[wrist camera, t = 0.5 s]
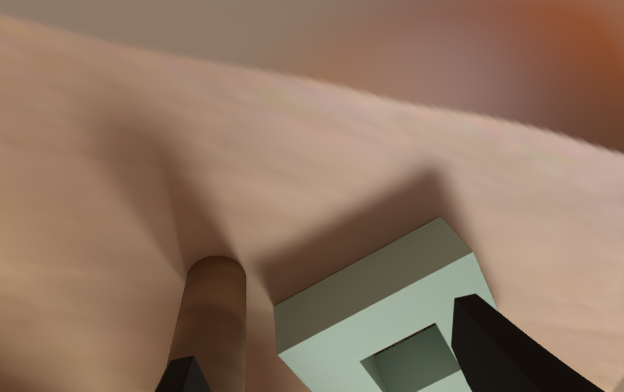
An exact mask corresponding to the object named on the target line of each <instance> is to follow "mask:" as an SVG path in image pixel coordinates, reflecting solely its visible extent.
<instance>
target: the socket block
mask: <svg viewBox="0 0 624 392" xmlns="http://www.w3.org/2000/svg"><path fill="white" fill-rule="evenodd" d="M475 293H476V294H477V295H479V296H480V297H481V298H482V299H483V300H485V301H486V302H487V303H488V304H490V305H491V306H492V307H493V308H494V309H496V310H497V307H496V305H495V303H494V300H493V298H492V295H491V293H490V291H489V288H488V286H487V283H486V281H485V279H484V276H483V274H482V271H481V269H480V267H479V264H478V262H477V259H476V257H475V255H474V252H473V251H472V250H471V249H470V248H469V247H468V245H467V244H466V243H465V242H464V241H463V240H462V239H461V238H460V237H459V236H458V235H457V234H456V232H455V231H454V230H453V229H452V228H451V227H450V226H449V225H448V224H447V223H446V222H445V221H444V219H443V218H442V217H441V216H440V217H438V218H436V219H435V220H433V221H431V222H429V223H427V224H425V225H423V226H422V227H420V228H418V229H416V230H414V231H412V232H411V233H409V234H407V235H405V236H403V237H401V238H399V239H398V240H396V241H394V242H392V243H390V244H388V245H387V246H385V247H383V248H381V249H379V250H377V251H375V252H374V253H372V254H370V255H368V256H366V257H364V258H363V259H361V260H359V261H357V262H355V263H353V264H351V265H350V266H348V267H346V268H344V269H342V270H340V271H339V272H337V273H335V274H333V275H331V276H329V277H327V278H326V279H324V280H322V281H320V282H318V283H316V284H315V285H313V286H311V287H309V288H307V289H305V290H303V291H302V292H300V293H298V294H296V295H294V296H292V297H291V298H289V299H287V300H285V301H283V302H281V303H279V304H278V305H276V306H274V307H273V308H274V320H275V331H276V343H277V355H278V356H279V357H280V358H281V359H282V360H283V361H284V362H285V363H286V365H287V366H288V367H289V368H290V369H291V370H292V371H293V372H294V373H295V374H296V375H297V376H298V377H299V379H300V380H301V381H302V382H303V383H304V384H305V385H306V386H307V387H308V388H309V389H310V390H311V391H312V392H472V391H471V389H470V387H469V385H468V383H467V381H466V379H465V377H464V375H463V373H462V371H461V368H460V366H459V364H458V362H457V359H456V357H455V355H454V352H453V350H452V348H451V337H452V323H453V309H454V298H457V297H461V296H466V295H471V294H475ZM497 311H498V310H497ZM433 323H435V325H434V326H432V327H430V328H428V329H426V330H425V331H423V332H421V333H419V334H417V335H415V336H413V337H411V338H409V339H407V340H405V341H403V342H401V343H399V344H397V345H395V346H393V347H391V348H389V349H387V350H385V351H383V352H381V353H379V354H378V355H376V356H374V355H373V354H374V353H376V352H378V351H380V350H382V349H384V348H386V347H388V346H390V345H392V344H394V343H396V342H398V341H400V340H402V339H404V338H406V337H408V336H410V335H412V334H414V333H415V332H417V331H419V330H421V329H423V328H425V327H427V326H429V325H431V324H433Z"/></svg>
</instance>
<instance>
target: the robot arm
mask: <svg viewBox="0 0 624 392" xmlns="http://www.w3.org/2000/svg"><path fill="white" fill-rule="evenodd" d="M451 348H452V350H453V352H454V355H455V357H456V359H457V362H458V364H459V366H460V368H461V371H462V373H463V375H464V377H465V379H466V381H467V383H468V385H469V387H470V389H471V391H472V392H605V391H603V390H602V389H600V388H599V387H597V386H596V385H594V384H593V383H591V382H590V381H589V380H587V379H586V378H584V377H583V376H581V375H580V374H579V373H577V372H576V371H574V370H573V369H572V368H570V367H569V366H568V365H566V364H565V363H563V362H562V361H561V360H559V359H558V358H557V357H555V356H554V355H553V354H551V353H550V352H549V351H547V350H546V349H545V348H543V347H542V346H541V345H539V344H538V343H537V342H536V341H534V340H533V339H532V338H530V337H529V336H528V335H527V334H525V333H524V332H523V331H522V330H520V329H519V328H518V327H517V326H515V325H514V324H513V323H512V322H510V321H509V320H508V319H507V318H505V317H504V316H503V315H502V314H501V313H499V312H498V311H497V310H496V309H494V308H493V307H492V306H491V305H490V304H488V303H487V302H486V301H485V300H483V299H482V298H481V297H480V296H479V295H477V294H476V293H475V294H471V295H466V296H461V297H457V298H454V309H453V323H452V337H451ZM155 392H211V390H210V388H209V386H208V384H207V381H206V379H205V377H204V375H203V373H202V371H201V369H200V367H199V365H198V363H197V361H196V359H195V356H194V355H193V356H188V357H183V358H179V359H174V360H171V361H170V362H169V364H168V365H167V368H166V370H165V372H164V374H163V376H162V378H161V380H160V382H159V384H158V386H157V388H156V390H155Z"/></svg>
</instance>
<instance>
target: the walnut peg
mask: <svg viewBox="0 0 624 392" xmlns="http://www.w3.org/2000/svg"><path fill="white" fill-rule="evenodd" d="M193 355H194V356H195V359H196V361H197V363H198V365H199V367H200V369H201V371H202V373H203V375H204V377H205V379H206V381H207V384H208V386H209V388H210V390H211V392H246V274H245V271H244V269H243V268H242V266H241V265H240V264H239V263H237V262H236V261H234V260H232V259H230V258H227V257H223V256H211V257H207V258H204V259H201V260H199V261H198V262H196V263H195V264H194V265H193V266H192V267H191V268H190V270H189V272H188V275H187V279H186V284H185V288H184V292H183V297H182V301H181V306H180V310H179V314H178V319H177V323H176V328H175V332H174V336H173V341H172V345H171V350H170V354H169V358H168V363H167V365H168V364H169V362H170V361H171V360H174V359H179V358H183V357H188V356H193ZM166 368H167V367H166Z"/></svg>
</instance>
